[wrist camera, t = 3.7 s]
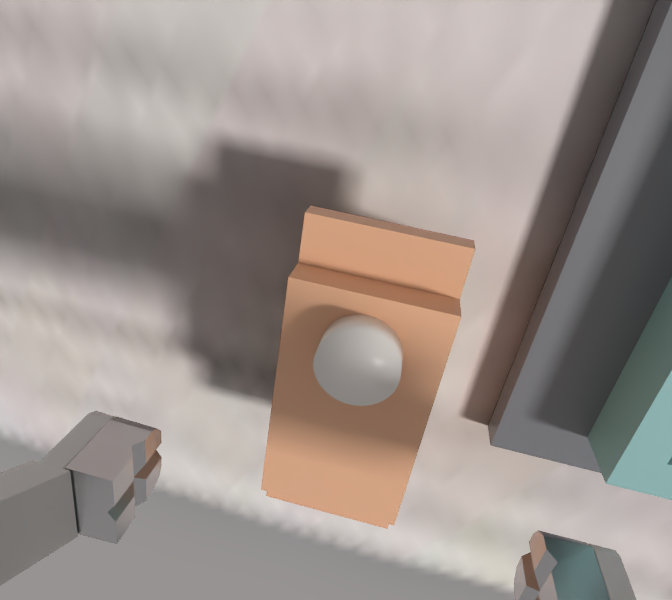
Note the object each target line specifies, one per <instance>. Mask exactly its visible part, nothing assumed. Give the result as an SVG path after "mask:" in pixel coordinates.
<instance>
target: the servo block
mask: <svg viewBox="0 0 672 600" xmlns="http://www.w3.org/2000/svg"><path fill="white" fill-rule="evenodd" d="M474 252H475V245H474V240H469V239H465V238H460V237H455V236H451V235H446V234H441V233H437V232H432V231H427V230H423V229H418V228H413V227H409V226H404V225H399V224H395V223H390V222H385V221H381V220H376V219H371V218H367V217H362V216H357V215H353V214H348V213H343V212H339V211H334V210H329V209H325V208H320V207H315V206H310V207H309V208H308V209H307V211H306V212H305V216H304V223H303V231H302V238H301V245H300V253H299V260H298V264H297V265H296V267H295V268H294V270H293V271H292V272H291V274H290V275H289V277H288V284H287V291H286V299H285V307H284V315H283V323H282V330H281V338H280V346H279V354H278V362H277V369H276V377H275V385H274V393H273V400H272V408H271V416H270V424H269V432H268V439H267V447H266V455H265V463H264V471H263V478H262V486H261V489H262V490H265V491H267V494H266V496H269V497H272V498H276V499H280V500H283V501H287V502H291V503H294V504H298V505H302V506H305V507H309V508H313V509H316V510H320V511H324V512H328V513H331V514H335V515H339V516H342V517H346V518H350V519H353V520H357V521H361V522H364V523H368V524H372V525H375V526H379V527H383V528H386V529H387V528H388V525H389V524H391V525H394V524H395V521H396V518H397V515H398V511H399V508H400V505H401V502H402V499H403V496H404V493H405V490H406V487H407V484H408V480H409V477H410V474H411V471H412V468H413V465H414V462H415V459H416V456H417V452H418V449H419V446H420V443H421V440H422V437H423V434H424V431H425V428H426V425H427V421H428V418H429V415H430V412H431V409H432V406H433V403H434V400H435V397H436V394H437V390H438V387H439V384H440V381H441V378H442V375H443V372H444V369H445V366H446V363H447V359H448V356H449V353H450V350H451V347H452V344H453V341H454V338H455V335H456V332H457V328H458V325H459V322H460V319H461V308H460V296H461V293H462V290H463V287H464V284H465V281H466V277H467V274H468V271H469V268H470V265H471V261H472V258H473V255H474Z"/></svg>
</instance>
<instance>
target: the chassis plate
mask: <svg viewBox="0 0 672 600" xmlns="http://www.w3.org/2000/svg"><path fill="white" fill-rule="evenodd" d="M488 430H489V437H490V444H491V446H495V447H499V448H503V449H507V450H511V451H515V452H519V453H523V454H527V455H531V456H535V457H539V458H543V459H547V460H551V461H555V462H559V463H564V464H568V465H572V466H576V467H580V468H584V469H588V470H592V471H596V472H600V473H602V475H603V477H604V480H605V482H606V484H610V485H614V486H618V487H622V488H626V489H630V490H634V491H638V492H642V493H646V494H650V495H654V496H658V497H662V498H666V499H670V500H672V0H657V1H656V3H655V6H654V8H653V11H652V13H651V16H650V18H649V21H648V23H647V26H646V29H645V31H644V34H643V36H642V39H641V41H640V44H639V46H638V49H637V51H636V54H635V56H634V59H633V61H632V64H631V66H630V69H629V71H628V74H627V76H626V79H625V82H624V84H623V87H622V89H621V92H620V94H619V97H618V99H617V102H616V104H615V107H614V109H613V112H612V114H611V117H610V119H609V122H608V124H607V127H606V130H605V132H604V135H603V137H602V140H601V142H600V145H599V147H598V150H597V152H596V155H595V157H594V160H593V162H592V165H591V167H590V170H589V172H588V175H587V178H586V180H585V183H584V185H583V188H582V190H581V193H580V195H579V198H578V200H577V203H576V205H575V208H574V210H573V213H572V215H571V218H570V220H569V223H568V226H567V228H566V231H565V233H564V236H563V238H562V241H561V243H560V246H559V248H558V251H557V253H556V256H555V258H554V261H553V263H552V266H551V268H550V271H549V273H548V276H547V279H546V281H545V284H544V286H543V289H542V291H541V294H540V296H539V299H538V301H537V304H536V306H535V309H534V311H533V314H532V316H531V319H530V321H529V324H528V327H527V329H526V332H525V334H524V337H523V339H522V342H521V344H520V347H519V349H518V352H517V354H516V357H515V359H514V362H513V364H512V367H511V369H510V372H509V375H508V377H507V380H506V382H505V385H504V387H503V390H502V392H501V395H500V397H499V400H498V402H497V405H496V407H495V410H494V412H493V415H492V417H491V420H490V422H489V425H488Z"/></svg>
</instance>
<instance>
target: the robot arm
mask: <svg viewBox="0 0 672 600" xmlns="http://www.w3.org/2000/svg"><path fill="white" fill-rule="evenodd" d="M160 444H161V431H160V430H159V429H157V428H153V427H150V426H147V425H143V424H140V423H137V422H133V421H130V420H126V419H123V418H120V417H115V416H112V415H108V414H105V413H102V412H98V411H94V412H92V413H89V414H88V415H86V416H85V417H84V418H83V419H82V420H81V421H80V422H79V423H78V424H77V425H76V426H75V427H74V428H73V429H72V430H71V431H70V432H69V433H68V434H67V435H66V436H65V437H64V438H63V439H62V440H61V441H60V442H59V443H58V444H57V445H56V446H55V447H54V448H53V449H52V450H51V451H50V452H49V453H48V454H47V455H46V456H45V457H44V458H43V459H42V460H41V461H40V462H38V461H34V460H32V461H30V462H27V463H25V464H22V465H19V466H17V467H14V468H12V469H9V470H7V471H4V472H2V473H0V585H2V584H4V583H5V582H7V581H8V580H10V579H11V578H13V577H15V576H16V575H18V574H19V573H21V572H23V571H24V570H26V569H27V568H29V567H30V566H32V565H33V564H35V563H37V562H38V561H40V560H42V559H43V558H44V557H46V556H48V555H49V554H51V553H52V552H54V551H56V550H57V549H59V548H60V547H62V546H64V545H65V544H67V543H68V542H70V541H71V540H73V539H75V538H76V537H77V536H78V534H80V535H84V536H88V537H92V538H96V539H99V540H103V541H108V542H111V543H115V544H117V543H118V542H119V540H120V539H121V537H122V536H123V534H124V533H125V531H126V530H127V529H128V527H129V525H130V524H131V523H132V521H133V520H134V518H135V506H137V505H139V504H141V503H142V502H144V501H146V500H147V499H148V497H149V496H150V494H151V493H152V491H153V490H154V487H155V485H156V483H157V480H158V478H159V475H160V470H161V456H160V455H159V453H158V452H157V450H156V449H157V448H158V446H159V445H160ZM529 545H530V550H531V552H530V553H528V554H526V555H523V556H522V557H521V559H520V561H519V563H518V565H517V568H516V573H515V579H514V595H515V600H636V597H635V594H634V592H633V589H632V586H631V584H630V581H629V578H628V576H627V573H626V571H625V568H624V565H623V563H622V560H621V557H620V555H619V554H618V553H617V552H616V551H615V550H612V549H608V548H604V547H600V546H596V545H592V544H587V543H585V542H581V541H577V540H574V539H570V538H566V537H562V536H558V535H554V534H550V533H546V532H542V531H537V532H535V533H534V534H533V536H532V537H531V539H530V541H529Z"/></svg>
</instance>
